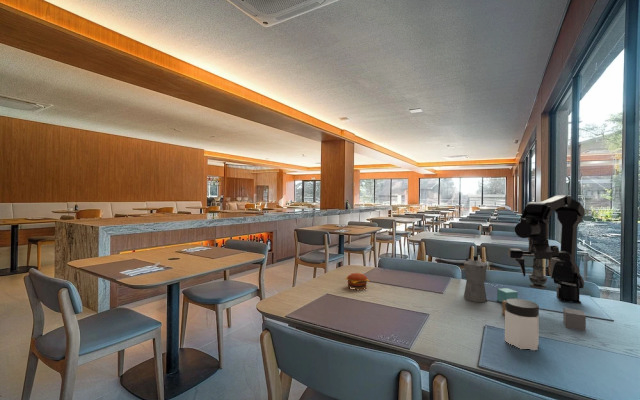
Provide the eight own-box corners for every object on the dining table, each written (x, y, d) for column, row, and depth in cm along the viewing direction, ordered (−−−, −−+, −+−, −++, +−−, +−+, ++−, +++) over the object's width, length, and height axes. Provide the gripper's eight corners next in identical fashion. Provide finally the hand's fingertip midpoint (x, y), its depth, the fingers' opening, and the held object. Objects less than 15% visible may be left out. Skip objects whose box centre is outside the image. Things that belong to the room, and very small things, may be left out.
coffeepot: (494, 304, 120) (494, 259, 120) (470, 304, 120) (470, 259, 120) (477, 292, 135) (477, 252, 135) (455, 291, 136) (455, 252, 136)
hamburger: (343, 286, 145) (343, 272, 145) (360, 283, 149) (360, 270, 149) (354, 291, 136) (354, 277, 136) (371, 289, 141) (371, 274, 141)
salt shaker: (551, 289, 110) (551, 256, 109) (534, 289, 110) (534, 256, 110) (541, 284, 115) (541, 253, 115) (524, 284, 116) (525, 253, 116)
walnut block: (516, 314, 110) (516, 300, 110) (524, 320, 105) (524, 305, 105) (502, 313, 111) (502, 300, 111) (509, 319, 106) (509, 305, 106)
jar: (507, 334, 94) (507, 296, 94) (539, 342, 89) (540, 301, 89) (502, 344, 88) (502, 304, 87) (537, 354, 82) (537, 310, 82)
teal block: (508, 300, 125) (508, 288, 125) (517, 304, 120) (517, 291, 120) (497, 300, 125) (497, 288, 124) (506, 304, 120) (506, 292, 120)
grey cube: (582, 325, 100) (582, 310, 100) (585, 331, 96) (585, 315, 96) (563, 322, 103) (563, 307, 103) (565, 327, 99) (565, 312, 99)
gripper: (513, 237, 108) (513, 280, 109) (578, 240, 101) (577, 286, 102) (507, 233, 119) (507, 273, 119) (565, 235, 112) (565, 277, 112)
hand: (537, 277), depth 113 cm, fingers closed on salt shaker, 8 cm apart
